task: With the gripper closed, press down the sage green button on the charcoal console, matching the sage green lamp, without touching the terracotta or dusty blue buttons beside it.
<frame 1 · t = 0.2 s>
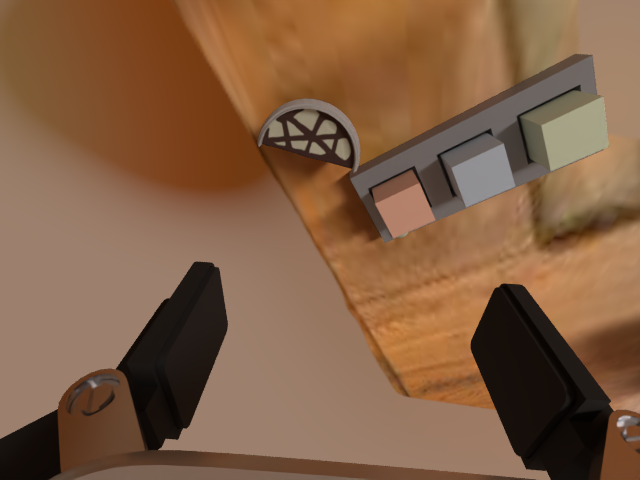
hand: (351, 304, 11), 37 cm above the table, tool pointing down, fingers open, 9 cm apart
button sage: (562, 130, 37), point 5 cm above the table, slide at 0.0 cm
button blue: (476, 170, 40), point 5 cm above the table, slide at 0.0 cm
grey rimmed container: (319, 115, 43), on the table
console: (463, 158, 44), on the table
button terracotta: (402, 203, 43), point 5 cm above the table, slide at 0.0 cm
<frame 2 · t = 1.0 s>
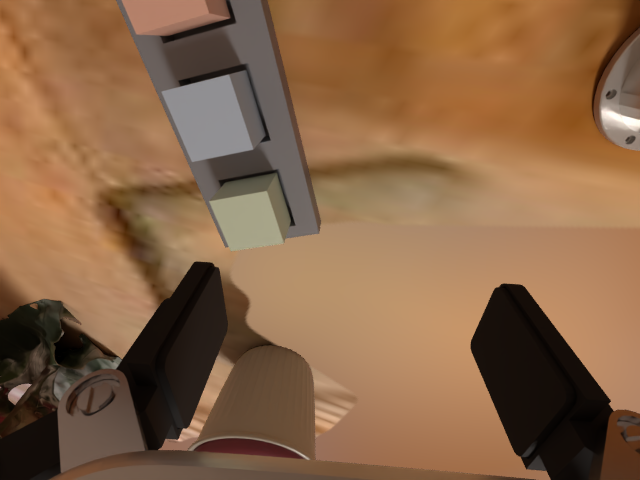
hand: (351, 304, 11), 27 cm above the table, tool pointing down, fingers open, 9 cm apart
button sage: (253, 211, 34), point 5 cm above the table, slide at 0.0 cm
button blue: (219, 115, 29), point 5 cm above the table, slide at 0.0 cm
console: (235, 106, 33), on the table
canister: (276, 363, 56), on the table
rose bouquet: (63, 358, 60), on the table
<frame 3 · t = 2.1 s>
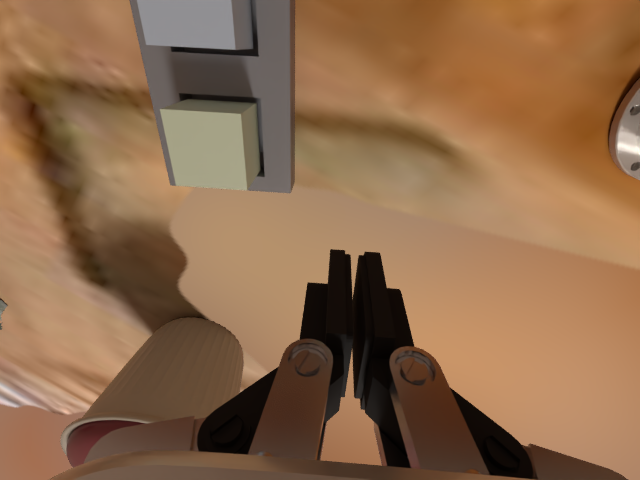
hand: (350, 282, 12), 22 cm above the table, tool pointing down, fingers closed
button sage: (216, 143, 27), point 5 cm above the table, slide at 0.0 cm
console: (221, 3, 26), on the table
canister: (203, 340, 48), on the table
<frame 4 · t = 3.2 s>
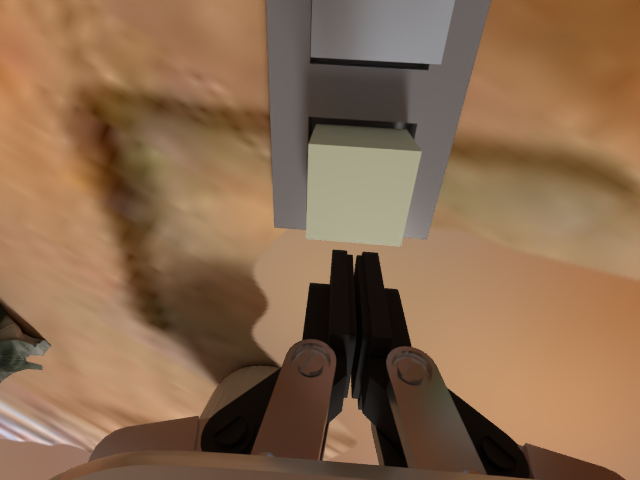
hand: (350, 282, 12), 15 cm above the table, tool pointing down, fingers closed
button sage: (357, 183, 20), point 5 cm above the table, slide at 0.0 cm
canister: (270, 388, 42), on the table
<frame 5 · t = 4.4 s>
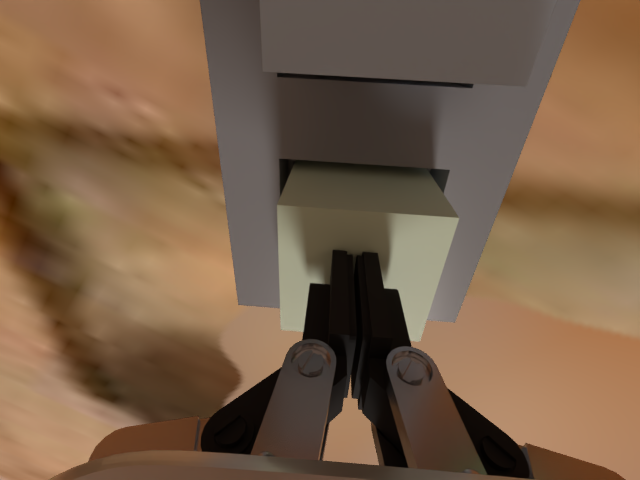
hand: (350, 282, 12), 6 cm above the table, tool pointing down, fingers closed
button sage: (355, 246, 14), point 4 cm above the table, slide at 1.2 cm, touching gripper
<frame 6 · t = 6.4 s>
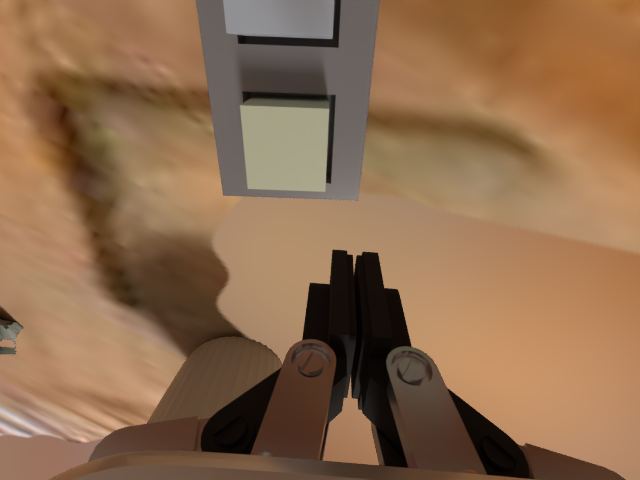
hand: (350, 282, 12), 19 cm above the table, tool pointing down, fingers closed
button sage: (289, 142, 25), point 4 cm above the table, slide at 1.5 cm
canister: (240, 360, 45), on the table
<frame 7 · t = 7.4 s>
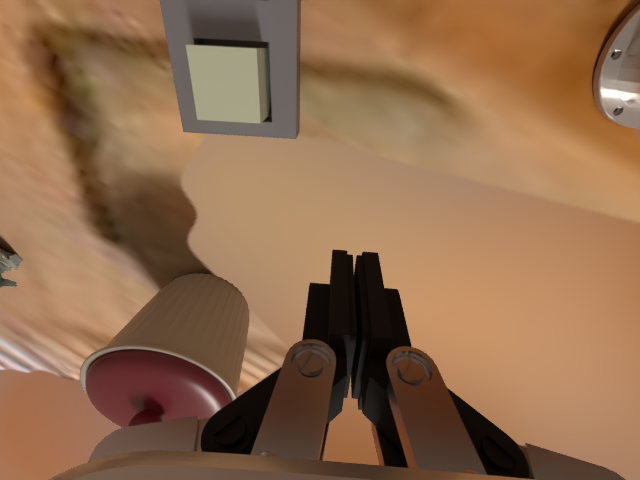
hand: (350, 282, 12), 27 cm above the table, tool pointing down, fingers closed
button sage: (233, 83, 30), point 4 cm above the table, slide at 1.5 cm
canister: (210, 299, 50), on the table
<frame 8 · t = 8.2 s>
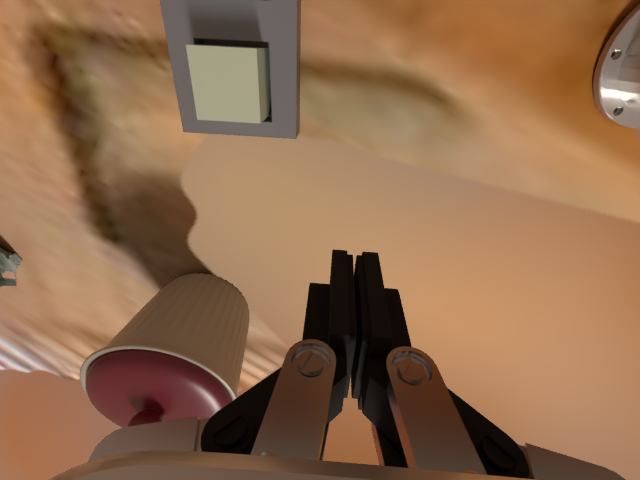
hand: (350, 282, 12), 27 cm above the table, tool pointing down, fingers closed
button sage: (233, 83, 30), point 4 cm above the table, slide at 1.5 cm
canister: (210, 299, 50), on the table
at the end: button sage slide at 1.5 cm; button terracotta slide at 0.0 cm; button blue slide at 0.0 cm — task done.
